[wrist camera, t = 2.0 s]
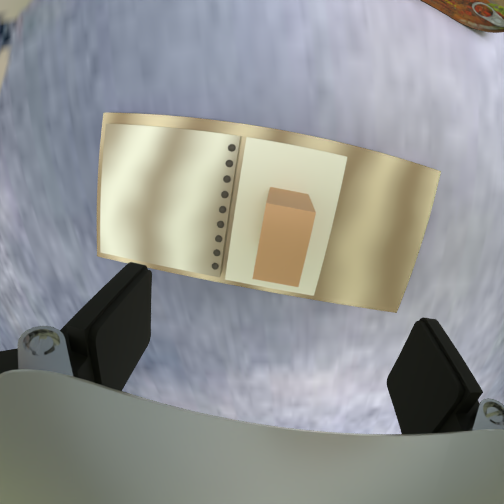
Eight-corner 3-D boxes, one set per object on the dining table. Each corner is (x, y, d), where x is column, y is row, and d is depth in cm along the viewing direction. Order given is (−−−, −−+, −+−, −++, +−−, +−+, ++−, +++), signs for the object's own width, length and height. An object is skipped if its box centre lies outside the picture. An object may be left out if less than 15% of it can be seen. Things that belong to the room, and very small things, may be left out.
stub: (345, 156, 24) (367, 164, 17) (312, 290, 28) (320, 336, 22) (247, 137, 24) (235, 137, 17) (226, 274, 28) (210, 316, 22)
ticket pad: (433, 169, 25) (446, 173, 22) (392, 305, 30) (399, 318, 27) (111, 113, 26) (97, 112, 23) (104, 250, 31) (91, 260, 28)
